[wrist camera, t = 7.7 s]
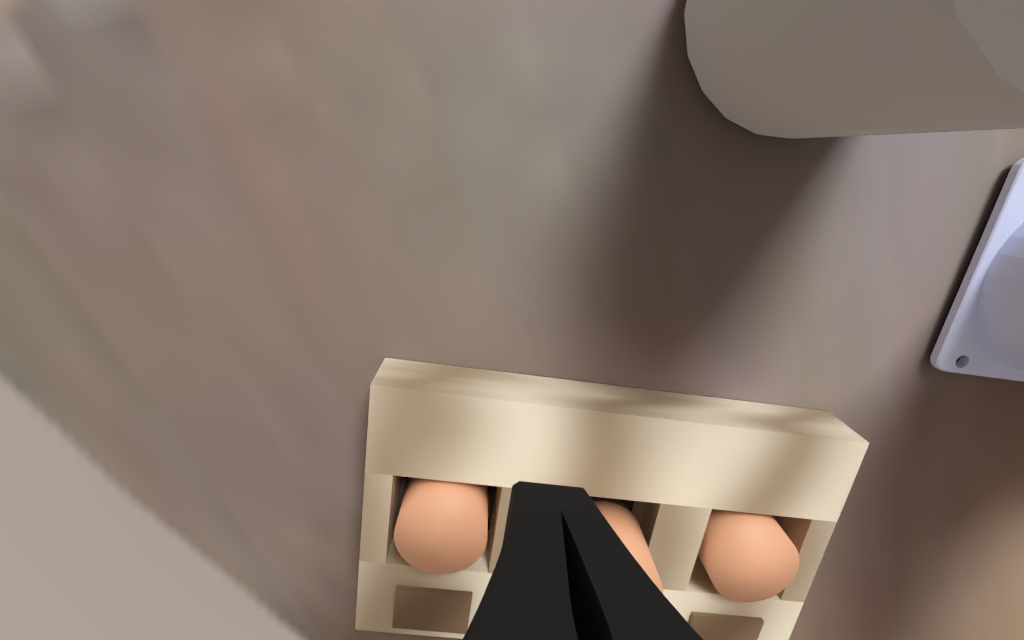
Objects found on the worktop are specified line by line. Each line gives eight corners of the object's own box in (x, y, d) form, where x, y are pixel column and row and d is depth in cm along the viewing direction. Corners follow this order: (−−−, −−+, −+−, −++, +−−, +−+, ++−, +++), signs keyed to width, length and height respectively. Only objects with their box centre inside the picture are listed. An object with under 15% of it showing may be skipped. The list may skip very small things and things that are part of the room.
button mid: (649, 505, 19) (673, 562, 17) (630, 576, 20) (650, 639, 18) (561, 496, 19) (572, 552, 16) (547, 568, 20) (554, 631, 18)
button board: (828, 411, 21) (873, 446, 18) (751, 616, 24) (780, 669, 22) (385, 357, 20) (368, 387, 17) (369, 582, 23) (353, 633, 20)
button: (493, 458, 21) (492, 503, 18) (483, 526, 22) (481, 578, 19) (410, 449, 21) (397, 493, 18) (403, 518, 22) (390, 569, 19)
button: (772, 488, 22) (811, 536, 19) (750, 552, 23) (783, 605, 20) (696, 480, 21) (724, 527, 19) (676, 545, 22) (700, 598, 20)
